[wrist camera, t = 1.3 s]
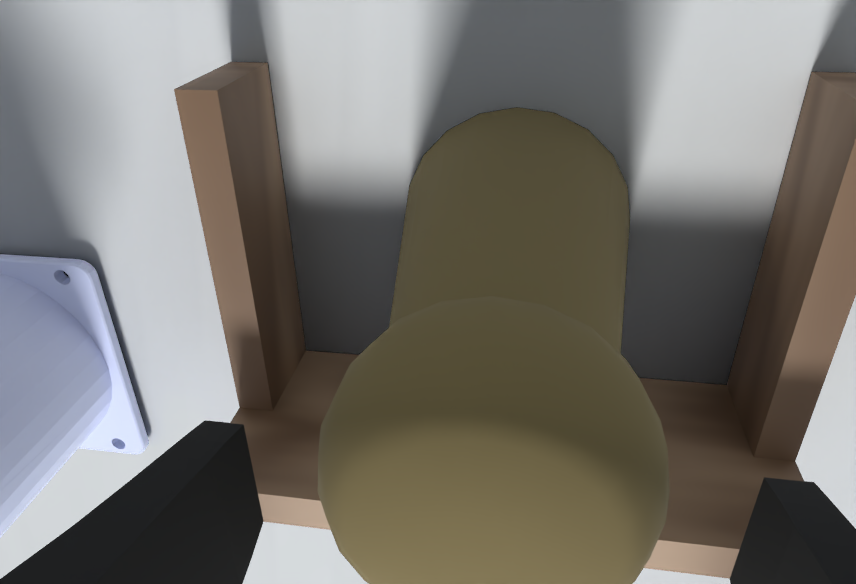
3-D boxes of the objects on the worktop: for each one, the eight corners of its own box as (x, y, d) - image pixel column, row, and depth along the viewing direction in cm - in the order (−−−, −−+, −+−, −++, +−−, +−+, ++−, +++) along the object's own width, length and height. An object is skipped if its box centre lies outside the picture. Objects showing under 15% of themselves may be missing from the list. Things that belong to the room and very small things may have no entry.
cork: (372, 149, 18) (170, 429, 8) (599, 73, 16) (673, 321, 6) (449, 332, 20) (363, 703, 11) (652, 284, 18) (761, 684, 9)
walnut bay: (280, 372, 22) (199, 513, 17) (230, 62, 17) (93, 128, 12) (754, 414, 20) (825, 590, 15) (859, 72, 15) (1023, 159, 10)
